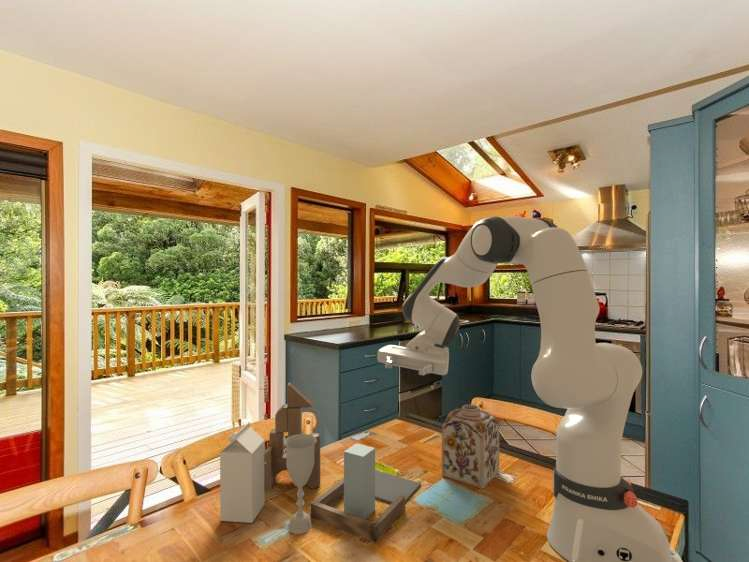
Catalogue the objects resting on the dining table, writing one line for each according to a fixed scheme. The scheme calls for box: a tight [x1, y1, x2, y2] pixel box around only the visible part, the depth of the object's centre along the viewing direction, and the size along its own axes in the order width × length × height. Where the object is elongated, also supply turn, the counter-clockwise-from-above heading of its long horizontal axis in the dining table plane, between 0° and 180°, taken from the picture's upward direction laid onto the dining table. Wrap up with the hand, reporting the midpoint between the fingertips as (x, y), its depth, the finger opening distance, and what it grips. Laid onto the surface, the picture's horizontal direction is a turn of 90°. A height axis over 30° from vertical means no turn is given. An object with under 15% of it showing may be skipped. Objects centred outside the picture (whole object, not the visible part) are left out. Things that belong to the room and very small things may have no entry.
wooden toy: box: [264, 382, 321, 491], centre depth 101 cm, size 16×7×25 cm, turn 94°
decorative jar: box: [441, 404, 500, 490], centre depth 106 cm, size 12×12×18 cm
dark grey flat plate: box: [375, 469, 422, 505], centre depth 99 cm, size 14×11×1 cm
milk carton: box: [219, 422, 265, 524], centre depth 88 cm, size 7×7×19 cm
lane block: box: [343, 442, 376, 520], centre depth 89 cm, size 5×5×14 cm
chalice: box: [284, 433, 317, 535], centre depth 84 cm, size 7×7×18 cm
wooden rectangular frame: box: [310, 478, 406, 544], centre depth 88 cm, size 16×13×3 cm
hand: (404, 368), depth 106 cm, fingers open, 8 cm apart
